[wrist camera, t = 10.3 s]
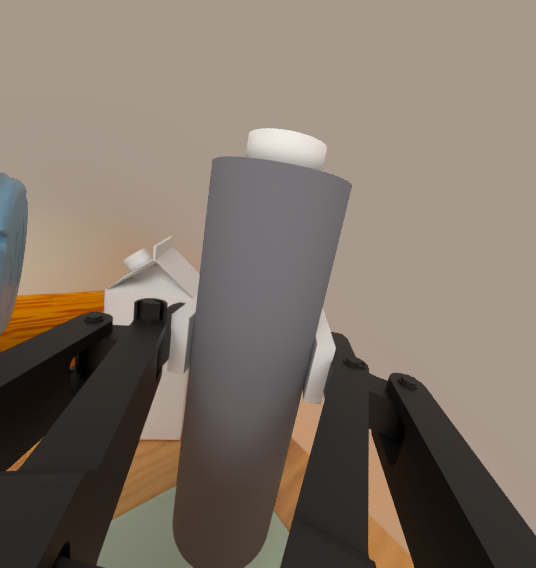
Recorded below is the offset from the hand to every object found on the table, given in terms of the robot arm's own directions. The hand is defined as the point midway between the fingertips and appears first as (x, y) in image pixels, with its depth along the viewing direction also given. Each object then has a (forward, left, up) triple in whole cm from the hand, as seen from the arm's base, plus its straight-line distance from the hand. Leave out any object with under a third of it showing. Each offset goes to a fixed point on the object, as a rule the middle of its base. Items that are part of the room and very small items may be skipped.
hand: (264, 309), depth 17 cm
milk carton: (-12, -3, -17) cm, 21 cm away
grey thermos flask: (+4, -4, -10) cm, 12 cm away
